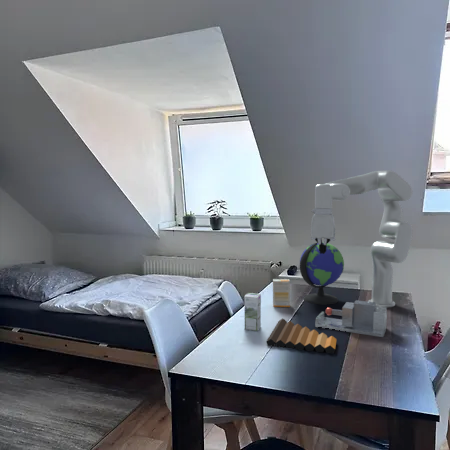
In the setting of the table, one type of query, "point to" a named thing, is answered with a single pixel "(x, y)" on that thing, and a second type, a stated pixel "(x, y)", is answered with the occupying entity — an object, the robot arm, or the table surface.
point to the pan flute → (300, 338)
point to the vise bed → (336, 324)
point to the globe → (321, 271)
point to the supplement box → (281, 293)
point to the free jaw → (344, 313)
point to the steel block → (363, 314)
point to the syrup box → (252, 311)
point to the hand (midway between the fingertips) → (322, 253)
